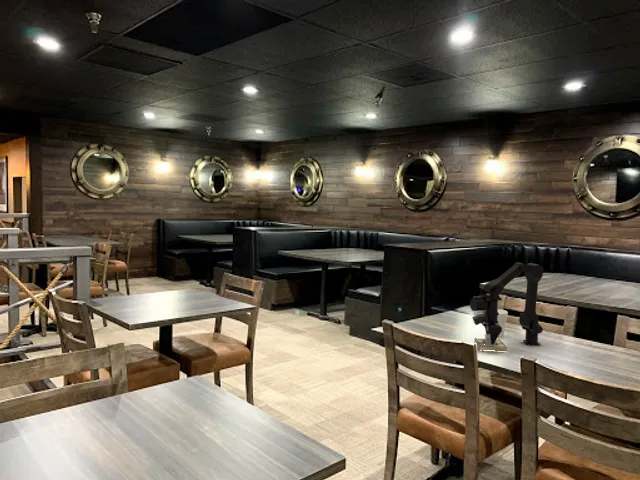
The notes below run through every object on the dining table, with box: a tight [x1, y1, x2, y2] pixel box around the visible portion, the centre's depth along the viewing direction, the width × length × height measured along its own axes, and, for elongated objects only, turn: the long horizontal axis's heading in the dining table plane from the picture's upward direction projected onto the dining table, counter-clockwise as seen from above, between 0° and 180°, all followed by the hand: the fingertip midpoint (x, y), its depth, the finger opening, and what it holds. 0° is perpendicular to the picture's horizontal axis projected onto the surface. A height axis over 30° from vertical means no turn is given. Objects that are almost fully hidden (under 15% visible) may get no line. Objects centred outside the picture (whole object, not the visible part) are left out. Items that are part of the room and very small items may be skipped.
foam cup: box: [497, 308, 509, 338], centre depth 253 cm, size 10×9×13 cm
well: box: [474, 337, 508, 351], centre depth 234 cm, size 14×12×2 cm
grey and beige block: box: [484, 333, 496, 345], centre depth 233 cm, size 4×4×6 cm
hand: (490, 341), depth 233 cm, fingers open, 9 cm apart
